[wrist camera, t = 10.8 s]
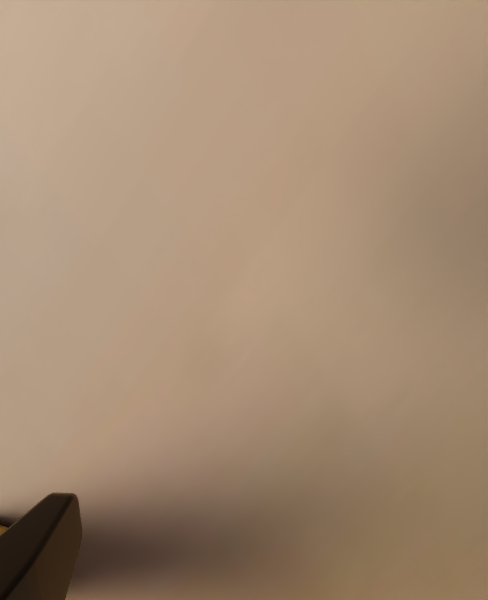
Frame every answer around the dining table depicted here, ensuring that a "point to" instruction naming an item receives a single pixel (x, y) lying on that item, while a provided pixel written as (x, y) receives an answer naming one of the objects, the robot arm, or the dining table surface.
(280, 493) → the dining table surface
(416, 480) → the dining table surface
